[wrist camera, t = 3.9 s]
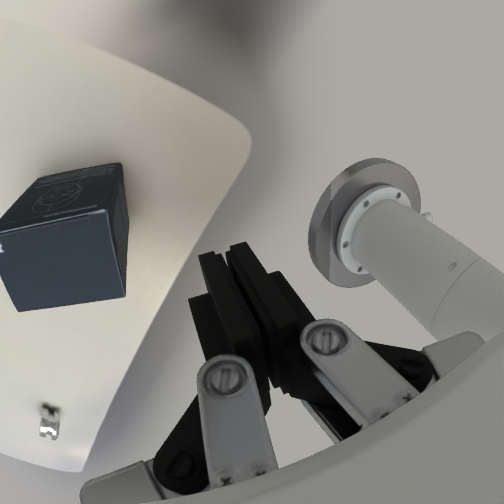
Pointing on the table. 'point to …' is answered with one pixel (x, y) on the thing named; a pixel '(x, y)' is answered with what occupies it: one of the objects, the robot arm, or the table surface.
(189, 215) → the table surface
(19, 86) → the table surface
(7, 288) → the box
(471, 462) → the robot arm
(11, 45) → the table surface
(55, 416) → the grooved metal pulley
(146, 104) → the table surface
